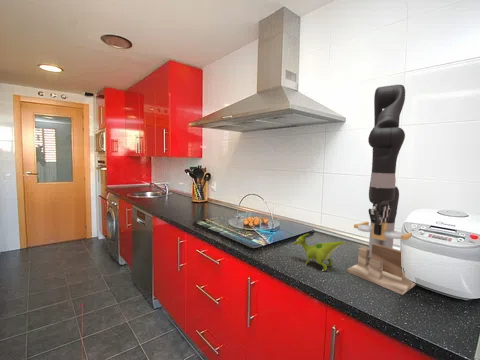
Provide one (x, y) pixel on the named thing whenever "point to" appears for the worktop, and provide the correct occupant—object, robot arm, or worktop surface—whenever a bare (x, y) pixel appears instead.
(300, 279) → the worktop surface
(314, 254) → the toy
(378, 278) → the display stand
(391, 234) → the glasses
